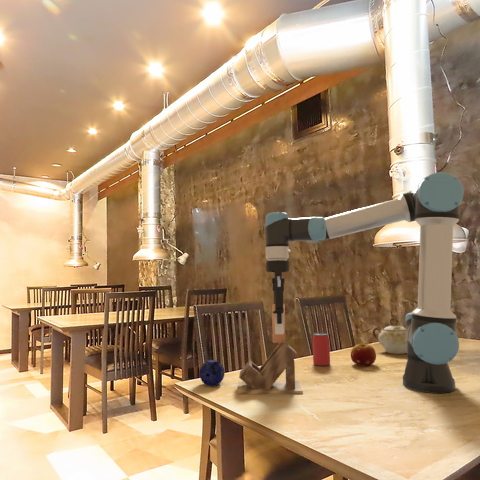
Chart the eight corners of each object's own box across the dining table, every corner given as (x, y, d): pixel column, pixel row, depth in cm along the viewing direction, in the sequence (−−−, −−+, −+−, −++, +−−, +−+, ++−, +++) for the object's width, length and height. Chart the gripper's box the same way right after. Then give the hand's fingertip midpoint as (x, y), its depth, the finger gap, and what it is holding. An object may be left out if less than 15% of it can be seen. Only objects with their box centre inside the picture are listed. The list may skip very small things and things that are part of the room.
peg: (287, 342, 128) (286, 304, 129) (276, 343, 127) (275, 305, 128) (281, 340, 132) (280, 303, 133) (270, 341, 130) (269, 304, 131)
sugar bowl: (370, 353, 179) (368, 319, 180) (376, 347, 192) (375, 315, 193) (418, 357, 169) (416, 321, 171) (421, 350, 182) (420, 317, 184)
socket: (237, 399, 123) (236, 345, 124) (238, 389, 134) (238, 339, 135) (303, 399, 122) (301, 344, 124) (299, 388, 133) (297, 338, 135)
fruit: (355, 368, 153) (354, 346, 153) (348, 362, 162) (347, 342, 162) (380, 367, 153) (379, 346, 154) (371, 362, 162) (370, 342, 163)
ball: (206, 380, 139) (206, 358, 140) (227, 381, 137) (226, 359, 138) (196, 386, 132) (196, 363, 132) (218, 388, 130) (218, 364, 130)
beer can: (325, 367, 155) (324, 335, 156) (310, 365, 159) (309, 334, 160) (333, 364, 160) (331, 333, 161) (317, 362, 164) (316, 332, 165)
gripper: (291, 259, 123) (293, 337, 121) (287, 260, 140) (288, 328, 138) (266, 259, 123) (268, 337, 121) (265, 260, 140) (266, 329, 138)
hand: (279, 332), depth 130 cm, fingers closed on peg, 4 cm apart
